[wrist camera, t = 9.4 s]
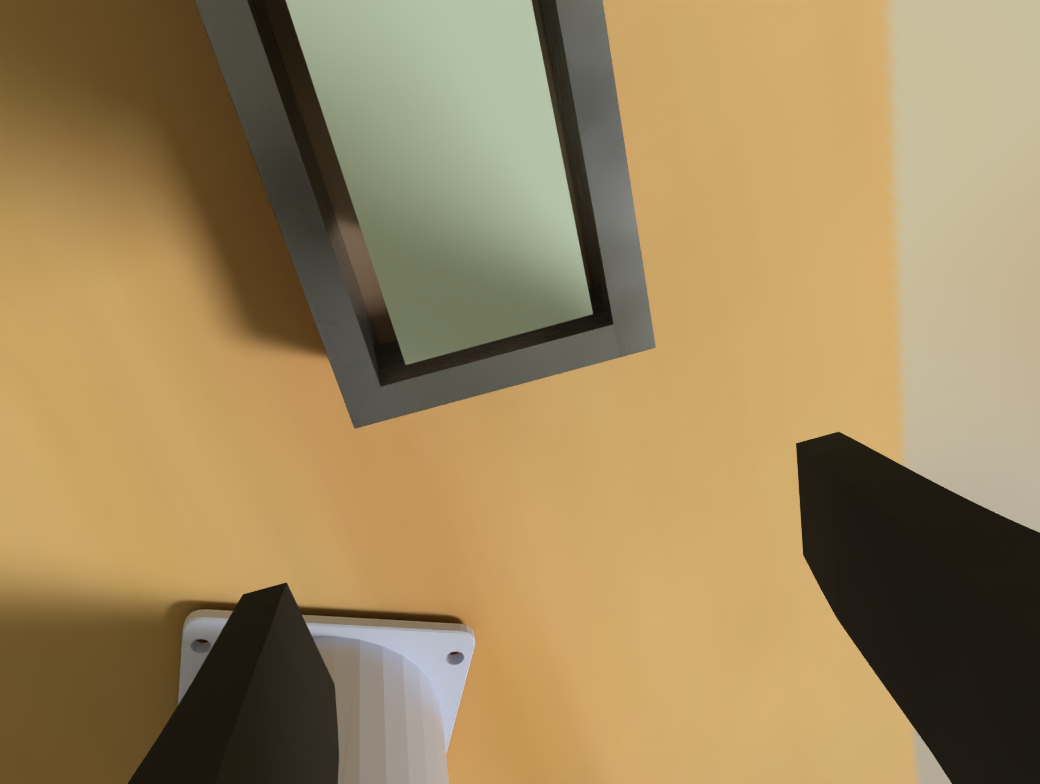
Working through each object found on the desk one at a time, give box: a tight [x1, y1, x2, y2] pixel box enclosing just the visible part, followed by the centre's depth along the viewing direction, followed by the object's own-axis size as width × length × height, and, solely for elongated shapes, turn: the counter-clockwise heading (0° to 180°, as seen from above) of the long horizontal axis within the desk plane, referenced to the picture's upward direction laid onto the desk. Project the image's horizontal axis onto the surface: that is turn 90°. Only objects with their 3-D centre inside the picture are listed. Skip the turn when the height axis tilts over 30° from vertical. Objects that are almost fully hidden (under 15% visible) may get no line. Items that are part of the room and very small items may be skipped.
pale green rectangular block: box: [286, 0, 593, 365], centre depth 14 cm, size 8×3×6 cm, turn 13°
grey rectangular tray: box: [195, 0, 656, 428], centre depth 16 cm, size 14×7×3 cm, turn 13°
